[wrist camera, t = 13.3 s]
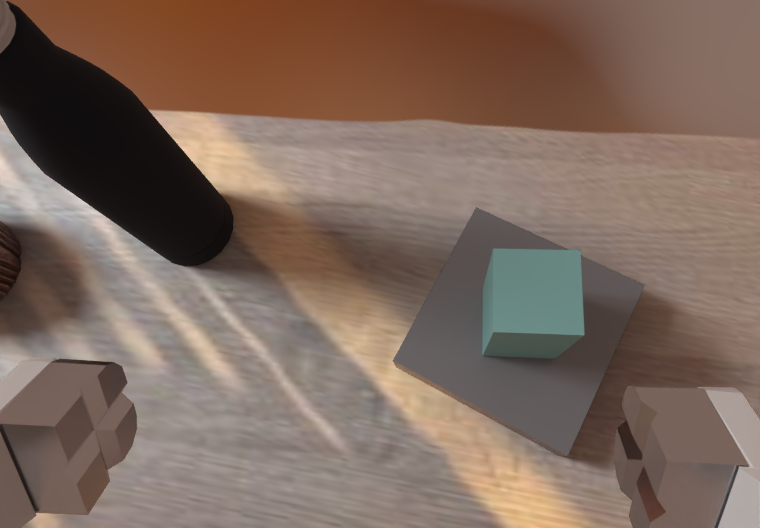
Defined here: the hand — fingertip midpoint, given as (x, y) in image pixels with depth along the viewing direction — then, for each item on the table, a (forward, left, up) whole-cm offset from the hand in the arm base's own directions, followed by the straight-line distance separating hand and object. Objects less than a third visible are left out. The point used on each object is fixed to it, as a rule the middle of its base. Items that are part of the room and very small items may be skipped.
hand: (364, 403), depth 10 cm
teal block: (+9, -2, -28) cm, 30 cm away
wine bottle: (+5, +23, -32) cm, 39 cm away
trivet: (+9, -2, -31) cm, 33 cm away
